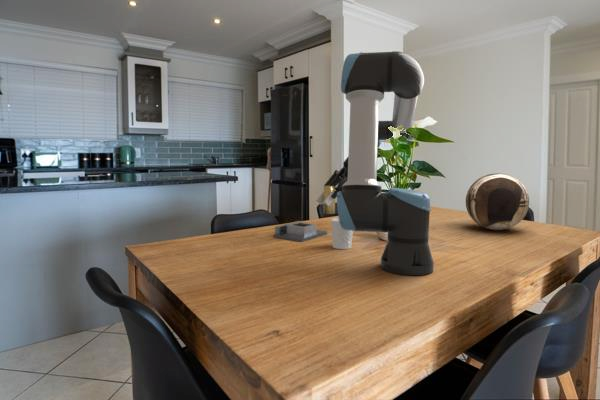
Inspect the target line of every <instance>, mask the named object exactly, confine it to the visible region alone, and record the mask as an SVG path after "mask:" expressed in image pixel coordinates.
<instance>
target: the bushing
mask: <svg viewBox="0 0 600 400" xmlns="http://www.w3.org/2000/svg"><path fill="white" fill-rule="evenodd" d="M323 186H324V185H323ZM335 187H336V186H324V187H323V191H324V201H325V199H326V198H327V197H328V196H329V194H330V193H331V192H332V191H333V189H335ZM322 212H323V214H324V215H325V214H326V215H335V214H336V198H335V199H334V200H333V202H332V203H331V204H330V205H329V206H327V205H326V203H325V202H323V211H322Z"/></svg>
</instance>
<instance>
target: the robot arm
mask: <svg viewBox="0 0 600 400" xmlns="http://www.w3.org/2000/svg"><path fill="white" fill-rule="evenodd" d="M340 78H341V79H340V80H341V81H340V82H341V83H340V90H341V93H343V94H344V95H345V100H346V101H348V103H350V104H349V109H350V110H349V129H348V133H349V134H348V156H347V157H346V159H344V161H343V163H342V165H343V167H342V168H341V169H339V170H338V169H336V170H334V172H333V174H332V175H331V176H330V177H329V178H328V180H327V181H326V182H325V184H324V185H323V186H322V187H323V188H324V186H335V189H333V191H332V192H331V193H330V194H329V196H328V197H327V198H326V199H325V201H324V190H323V191H322V192H321V194H320V195H319V196H318V197H317V199H316V202H317V203H318V204H319V205H320V206H321V205H323V204H324V202H325V203H326V205H327V206H329V205H330V204H331V203H332V202H333V200H334V199H335V200H336V206H337V215H338V216H337V218H339V222H340V226H341V227H342V228H343V229H344V230H351V231H353V232H368V233H369V232H370V233H371V232H373V233H387V240H386V245H385V246H384V249H383V252H382V255H381V257H380V267H381V269H383V270H384V271H386V272H388V273H393V274H397V275H405V276H423V275H428V274H431V273H433V272H434V263H435V262H434V259H433V256H432V252H431V249H430V245H429V237H430V235H429V234H430V216H431V215H430V213H431V199H430V198H431V197H430V196H429V195H428V194H427V193H425V192H422V191H420V190H419V191H418V190H413V189H407V188H399V187H390V188H389V189H388V192H382V185H381V184H380V183H379V182H378V180H377V174H378V172H377V171H378V170H377V169H378V149H379V148H380V146H381V145H382V143H383V141H385V140H386V139H389V138H391V137H392V136H393V133H392V132H391V131H390V130H389V129H388V127H390V126H392V127H394V128H397V127H398V126H400V125H401V126H403V127H402V128H404V129H403V130H402V131H400V135H402V136H405V137H406V138H407V139H408V140H407V141H413V140H414V139H412V137H411V136H410V135H408V134H406V133H405V131H404V130H405V129H408V128H411V127H412V125H413V123H415V122H416V120H414V118H415V112H416V108H417V107H416V106H417V104H418V97H419V95H420V94H421V93H422V92H423V90H424V85H425V75H424V72H423V69H422V67H421V65H420V64H419V62H417V61H416V59H414V57H412V56H411V55H410V54H407V53H405V52H401V51H396V50H395V51H383V52H382V51H381V52H380V51H377V52H375V51H373V52H363V51H361V52H357V53H350V54H348V55H347V56H346V57H345V59H344V62H343V65H342V70H341V77H340ZM385 93H394V97H393V98H394V99H393V100H394V101H393V110H392V120H379V109H380V108H379V107H380V105H379V104H380V102H381V101H383V100H384V98H385ZM416 123H417V122H416ZM386 141H387V140H386Z"/></svg>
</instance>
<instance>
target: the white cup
mask: <svg viewBox="0 0 600 400" xmlns="http://www.w3.org/2000/svg"><path fill="white" fill-rule="evenodd" d="M330 221H331V240H332V248H333V249H335V250H348V249H349V250H350V249H351V248H352V245H353V243H352V242H353V241H352V240H353V235H354V234H353V233H354V231H351V230H344V229H343V228H342V227H341V226H340V222H339V217H335V218H331V220H330Z"/></svg>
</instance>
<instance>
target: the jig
mask: <svg viewBox="0 0 600 400" xmlns="http://www.w3.org/2000/svg"><path fill="white" fill-rule="evenodd" d="M274 228H275V229H274V232H275V233H273V238H277V239H284V240H289V241H293V242H299V243H300V242H302V243H304V242H306V241H309V240H314V239H316V238H319V237H323V236H326V235H327V234H328V231H327V230H321V229H317V224H316V223H315V224H314V223H308V222H303V221H302V220H295V221H293V222H289V223H285V224H284V223H282V224H280V225H276V226H275V227H274Z"/></svg>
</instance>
